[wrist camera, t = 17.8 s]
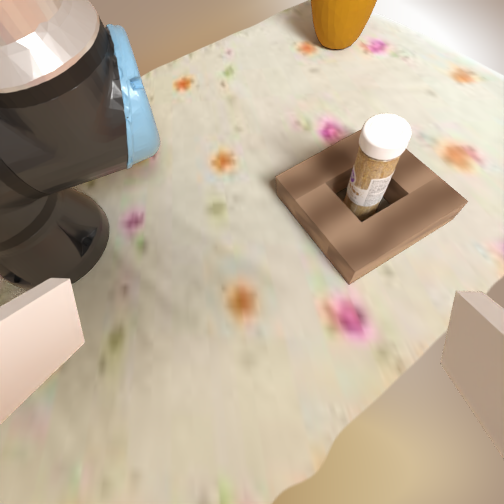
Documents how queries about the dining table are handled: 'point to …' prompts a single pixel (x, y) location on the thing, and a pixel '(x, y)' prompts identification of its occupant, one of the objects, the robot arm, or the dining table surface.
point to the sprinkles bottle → (376, 162)
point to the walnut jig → (377, 226)
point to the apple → (340, 20)
